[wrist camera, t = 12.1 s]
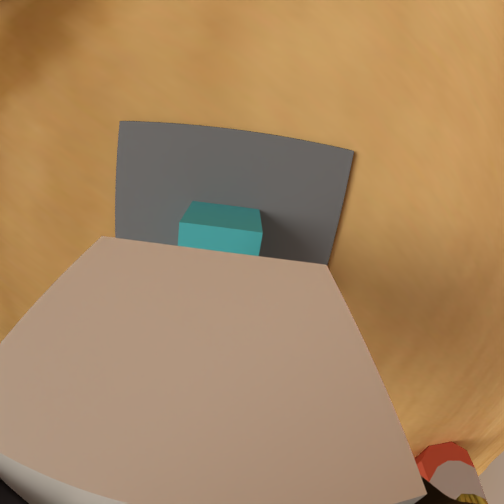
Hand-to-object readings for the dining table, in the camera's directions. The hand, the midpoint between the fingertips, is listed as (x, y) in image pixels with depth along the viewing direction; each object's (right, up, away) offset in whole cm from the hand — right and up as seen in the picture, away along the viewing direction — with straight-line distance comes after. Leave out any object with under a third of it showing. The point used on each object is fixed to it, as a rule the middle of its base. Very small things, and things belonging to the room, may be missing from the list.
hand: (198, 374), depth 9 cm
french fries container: (+30, -27, +26) cm, 48 cm away
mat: (-1, 0, +13) cm, 13 cm away
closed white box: (0, +1, +1) cm, 2 cm away
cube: (0, +5, +10) cm, 11 cm away
